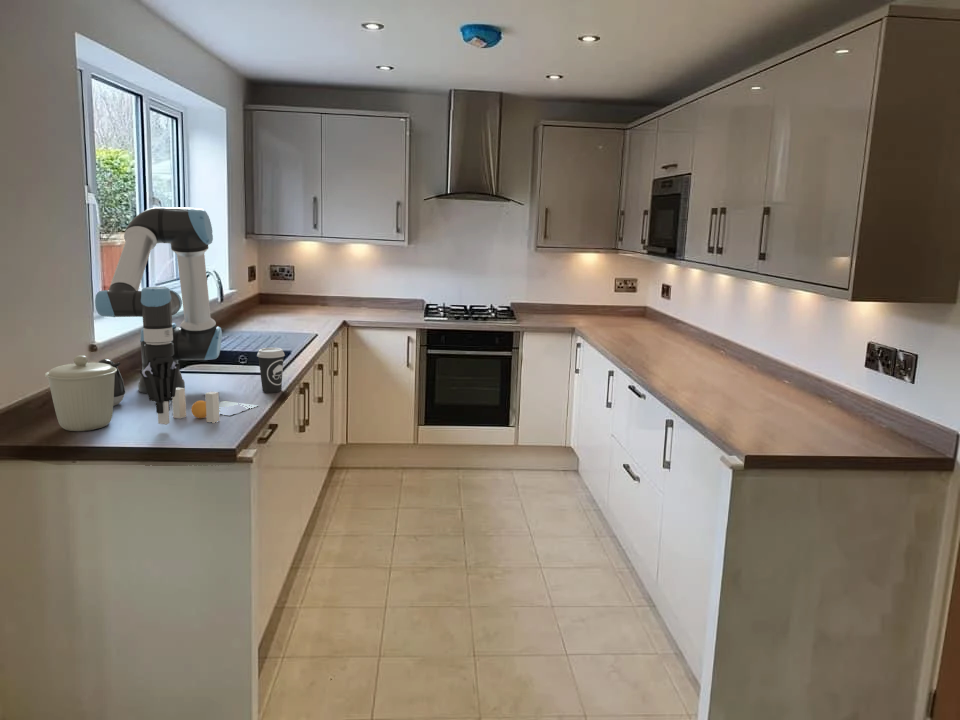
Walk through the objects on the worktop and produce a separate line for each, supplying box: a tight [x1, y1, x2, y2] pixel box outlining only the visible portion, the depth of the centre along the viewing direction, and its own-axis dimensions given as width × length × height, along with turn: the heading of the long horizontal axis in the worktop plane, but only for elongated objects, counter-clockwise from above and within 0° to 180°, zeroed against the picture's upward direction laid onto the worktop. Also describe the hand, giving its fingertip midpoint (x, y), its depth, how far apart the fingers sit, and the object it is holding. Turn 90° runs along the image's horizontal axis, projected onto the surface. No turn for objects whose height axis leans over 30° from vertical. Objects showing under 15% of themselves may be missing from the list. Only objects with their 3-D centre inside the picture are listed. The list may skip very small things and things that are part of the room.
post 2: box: [204, 391, 221, 424], centre depth 215 cm, size 3×3×9 cm
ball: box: [190, 399, 207, 419], centre depth 219 cm, size 6×6×6 cm
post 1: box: [171, 387, 187, 419], centre depth 219 cm, size 3×3×9 cm
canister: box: [44, 354, 117, 432], centre depth 206 cm, size 18×18×21 cm
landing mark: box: [219, 400, 260, 416], centre depth 231 cm, size 14×14×1 cm
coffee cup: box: [256, 347, 286, 394], centre depth 254 cm, size 10×10×15 cm
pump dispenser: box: [96, 358, 126, 407], centre depth 231 cm, size 10×10×15 cm
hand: (164, 423), depth 205 cm, fingers closed
